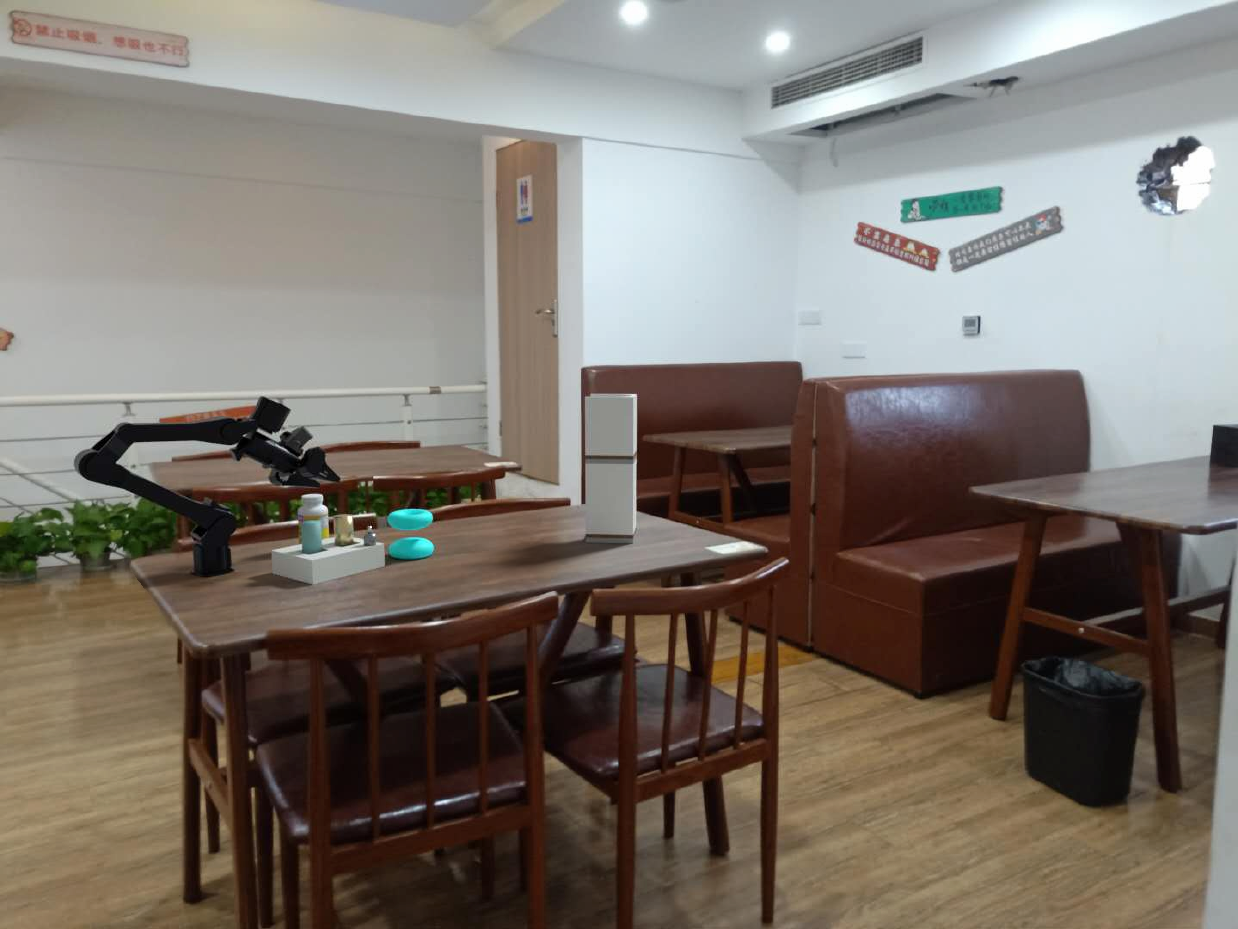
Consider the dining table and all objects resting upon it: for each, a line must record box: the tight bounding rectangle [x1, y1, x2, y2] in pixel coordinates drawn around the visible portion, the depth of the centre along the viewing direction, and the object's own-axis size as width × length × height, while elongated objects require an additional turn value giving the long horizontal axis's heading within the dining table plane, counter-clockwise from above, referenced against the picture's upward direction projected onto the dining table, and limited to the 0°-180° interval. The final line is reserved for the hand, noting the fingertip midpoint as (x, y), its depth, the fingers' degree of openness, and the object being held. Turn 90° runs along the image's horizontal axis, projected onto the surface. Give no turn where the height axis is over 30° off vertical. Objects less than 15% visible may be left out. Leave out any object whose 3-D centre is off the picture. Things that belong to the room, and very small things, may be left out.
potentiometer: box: [363, 525, 377, 546], centre depth 194 cm, size 3×3×4 cm
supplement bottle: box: [297, 493, 330, 545], centre depth 210 cm, size 7×7×13 cm
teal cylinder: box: [301, 520, 322, 555], centre depth 189 cm, size 4×4×7 cm
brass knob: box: [332, 513, 355, 547], centre depth 196 cm, size 4×4×7 cm
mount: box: [271, 536, 386, 586], centre depth 193 cm, size 18×14×5 cm
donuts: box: [387, 508, 435, 560], centre depth 206 cm, size 10×10×10 cm
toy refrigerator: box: [584, 393, 638, 544], centre depth 221 cm, size 11×11×35 cm
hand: (329, 483), depth 205 cm, fingers open, 9 cm apart
